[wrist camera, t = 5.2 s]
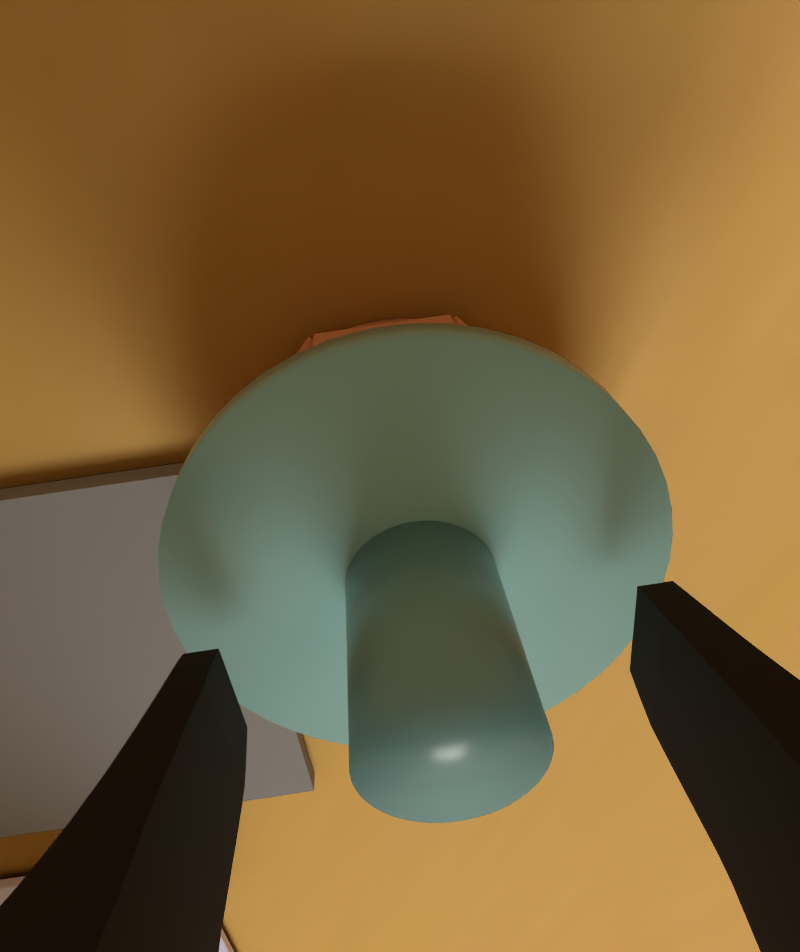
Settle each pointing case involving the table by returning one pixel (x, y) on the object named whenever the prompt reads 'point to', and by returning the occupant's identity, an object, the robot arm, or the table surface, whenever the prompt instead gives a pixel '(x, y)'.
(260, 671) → the lid
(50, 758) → the mat
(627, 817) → the table surface
